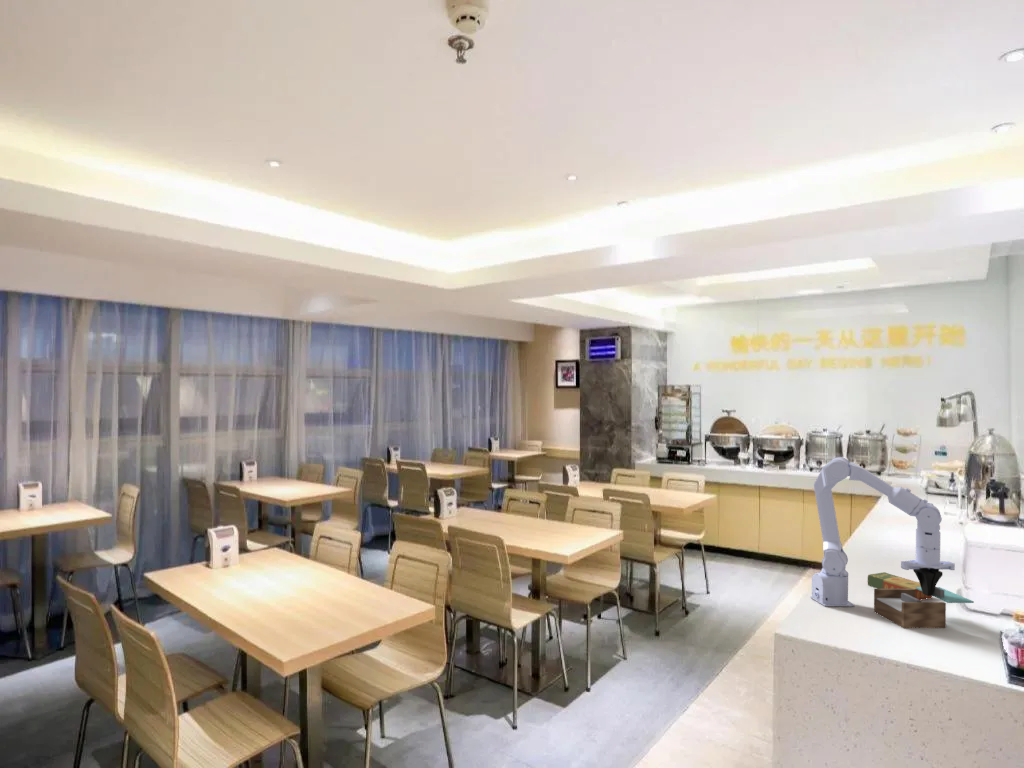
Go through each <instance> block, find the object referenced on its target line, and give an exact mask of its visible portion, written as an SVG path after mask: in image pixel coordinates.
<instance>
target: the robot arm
mask: <svg viewBox="0 0 1024 768" xmlns="http://www.w3.org/2000/svg"><path fill="white" fill-rule="evenodd" d="M847 477H849V479H848V480H849V481H859V482H862V483H863V484H865V485H867V486H869V487H871V488H872V489H875V490H876V491H878V492H880V493H881V494H883V495H884V496H885V497H887V499H888V503H890V504H891V505H892V506H894V507H896V508H897V509H898V510H900V511H902V512H904V513H905V514H907V515H909V517H915V519H916V522H917V523H916V529H915V559H912V560H905V561H900V568H901V569H902V570H905V571H909V570H912V571H913V572H914V573H915V576H916V578H917V579H918V582H919V583H920V585H921V589H922V593H923V594H924V595H927V596H932V595H933V592H934V589H935V587H937V584H938V582H939V580H941V578H942V577H943V571H941V570H950V571H955V568H956V567H955V562H951V561H943V560H941V531H940V530H941V525H940V524H941V523H942V519H943V517H942V515H941V512H940V510H939V508H937V506H935V505H934V503H930V502H929V501H928V500H927V499H926V498H924V499H922V498H920V497H919V496H917V495H916V494H914V493H912V492H911V491H912V490H911V489H910V488H908V487H905V488H904V487H902V486H898V487H897V486H896V487H894V486H892V485H891V484H889V483H888V482H886V481H884V480H883V479H881V478H880V477H878V476H877V475H875V474H873V473H872V472H871V471H870V470H868V469H866V468H864V467H863V466H860V465H858V464H857V463H855V462H854V461H853V462H852V461H849V460H848V459H847V458H844V457H841V456H839V457H838V456H837V457H834V458H832V459H831V460H830V461H828V463H826V464H825V465H824V466H823V467H822V468H821V470H820V472H819V474H818V476H817V478H816V480H815V481H814V483H813V490H814V495H815V501H816V505H817V506H816V507H817V512H818V513H817V514H818V520H819V524H820V531H821V537H822V543H823V545H822V548H823V550H822V551H823V557H822V559H821V567H822V568H821V571H820V572H816V573H815V572H814V574H813V575H812V577H811V595H810V597H809V598H810V599H813V600H814V601H816V602H817V603H819V605H820V604H821V605H822V606H823V607H855V606H856V604H854V603H853V602H851V601H849V572H848V571H847V570H846V566H847V565H848V561H849V558H848V555H847V554H846V552H845V551H844V549H843V545H842V541H841V537H840V530H839V525H838V521H837V516H836V515H837V514H836V508H835V503H834V502H835V501H834V496H833V488H834V487H835V486H836V485H837V484H838V483H839V482H841V481H844V480H846V479H847ZM932 597H933V596H932Z"/></svg>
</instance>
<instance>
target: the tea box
mask: <svg viewBox="0 0 1024 768" xmlns="http://www.w3.org/2000/svg"><path fill="white" fill-rule="evenodd" d="M873 591H874V592H873V613H875V612H876V613H875V614H877V613H878V614H877V615H879V616H880V615H881V617H882V616H883V617H882V618H883V619H886V620H888V621H889V622H891V623H893V624H896V625H897V626H899V627H900V626H901V627H900V628H902V627H903V628H902V629H946V625H947V624H946V615H947V614H946V613H947V612H946V610H947V604H946V603H947V602H945V601H941V602H940V601H924V602H923V601H921V602H902V612H901V611H899V610H897V609H895V608H893V607H891V606H889V605H887V604H885V603H883V602H881V601H879V600H877V598H901V593H906V594H908V595H910V596H912V597H914V598H915V589H877V588H873Z"/></svg>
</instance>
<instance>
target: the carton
mask: <svg viewBox="0 0 1024 768" xmlns="http://www.w3.org/2000/svg"><path fill="white" fill-rule="evenodd" d="M867 586H869V587H871V588H873V589H915V598H917V599H919V600H921V599H925V600H927V599H926V598H931V597H932V598H933V596H927V595H924V594H923V593H922V591H920V590H918V589H916V587H921V585H920V582H919V581H916V580H915V581H914V580H911V579H908V578H905V577H901V576H899V575H898V576H897V575H895V574H891V573H889V572H888V573H887V572H877V573H869V574H868V575H867ZM932 598H931V599H932ZM921 601H922V600H921Z"/></svg>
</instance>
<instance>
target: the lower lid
mask: <svg viewBox="0 0 1024 768" xmlns="http://www.w3.org/2000/svg"><path fill="white" fill-rule="evenodd" d="M877 600H879V601H881V602H883V603H885V604H887V605H889V606H891V607H893V608H895V609H897V610H899V611H901V612H902V602H922V600H919V599H917V598H914V597H912V596H910V595H908V594H906V593H901V598H877Z"/></svg>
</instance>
